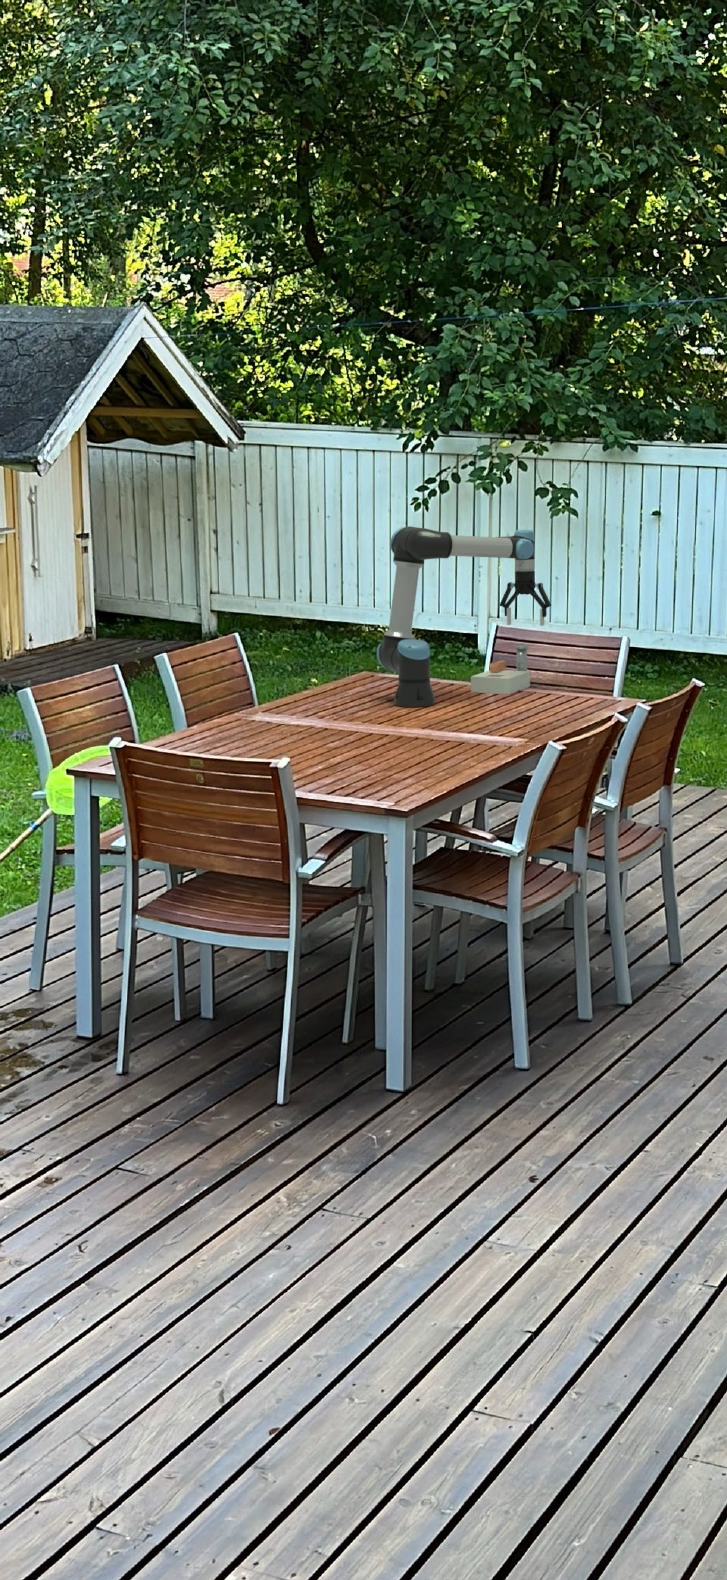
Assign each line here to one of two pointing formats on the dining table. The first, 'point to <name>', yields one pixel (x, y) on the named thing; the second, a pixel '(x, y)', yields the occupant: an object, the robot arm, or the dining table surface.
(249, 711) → the dining table surface
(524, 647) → the grey flanged post
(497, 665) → the lock tab
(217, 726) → the dining table surface
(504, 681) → the block
